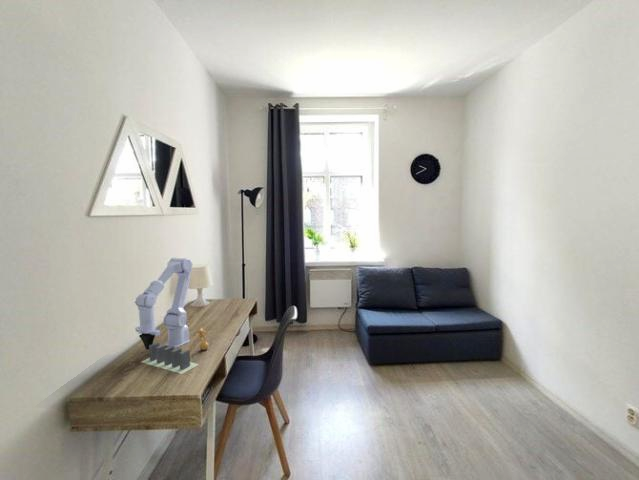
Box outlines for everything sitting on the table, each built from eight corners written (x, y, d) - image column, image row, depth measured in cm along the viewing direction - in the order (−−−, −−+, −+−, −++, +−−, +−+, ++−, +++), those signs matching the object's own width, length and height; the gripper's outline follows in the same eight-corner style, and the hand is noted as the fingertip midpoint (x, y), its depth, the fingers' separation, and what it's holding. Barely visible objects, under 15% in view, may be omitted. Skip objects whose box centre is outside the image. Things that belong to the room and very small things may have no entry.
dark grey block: (172, 366, 133) (171, 351, 133) (179, 362, 137) (178, 347, 136) (174, 367, 133) (174, 351, 132) (182, 363, 136) (181, 348, 135)
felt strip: (158, 354, 146) (158, 353, 146) (198, 364, 135) (198, 364, 135) (140, 362, 138) (140, 361, 138) (181, 374, 127) (181, 373, 127)
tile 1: (149, 360, 140) (149, 345, 139) (157, 357, 143) (156, 342, 142) (152, 361, 139) (151, 346, 138) (160, 357, 142) (159, 342, 142)
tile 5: (179, 369, 131) (179, 353, 131) (187, 365, 135) (186, 349, 134) (182, 369, 130) (182, 353, 130) (190, 365, 134) (189, 350, 133)
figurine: (214, 348, 152) (213, 324, 151) (208, 353, 146) (207, 329, 145) (198, 347, 153) (197, 324, 152) (192, 353, 147) (190, 328, 146)
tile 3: (164, 364, 135) (163, 349, 135) (171, 360, 139) (171, 345, 138) (167, 365, 135) (166, 349, 134) (174, 361, 138) (173, 346, 137)
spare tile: (156, 362, 137) (156, 347, 137) (164, 359, 141) (163, 344, 140) (159, 363, 137) (158, 348, 136) (167, 359, 140) (166, 344, 139)
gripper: (128, 320, 141) (130, 349, 142) (149, 324, 134) (151, 355, 135) (142, 315, 147) (144, 343, 148) (163, 319, 141) (165, 348, 142)
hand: (148, 348), depth 142 cm, fingers closed
